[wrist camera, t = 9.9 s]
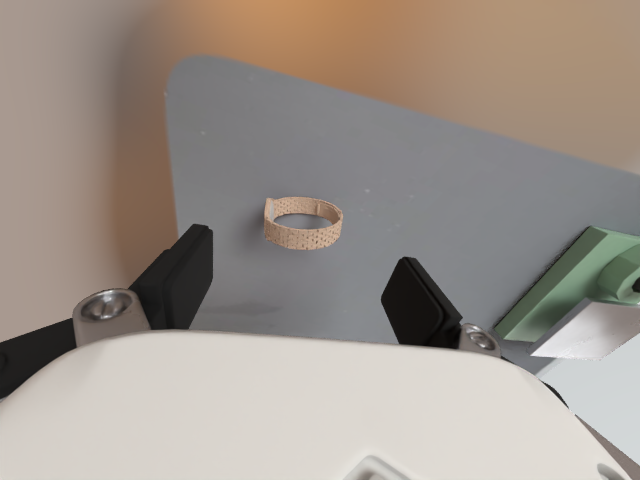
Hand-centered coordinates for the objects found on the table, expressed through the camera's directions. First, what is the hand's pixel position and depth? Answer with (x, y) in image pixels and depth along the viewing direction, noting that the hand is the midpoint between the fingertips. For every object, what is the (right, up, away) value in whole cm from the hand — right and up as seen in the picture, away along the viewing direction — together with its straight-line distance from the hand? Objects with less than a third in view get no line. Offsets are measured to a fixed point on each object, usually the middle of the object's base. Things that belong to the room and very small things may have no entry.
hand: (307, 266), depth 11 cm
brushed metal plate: (+28, -8, +12) cm, 32 cm away
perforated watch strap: (-1, +4, +5) cm, 7 cm away
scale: (+29, -4, +13) cm, 32 cm away
